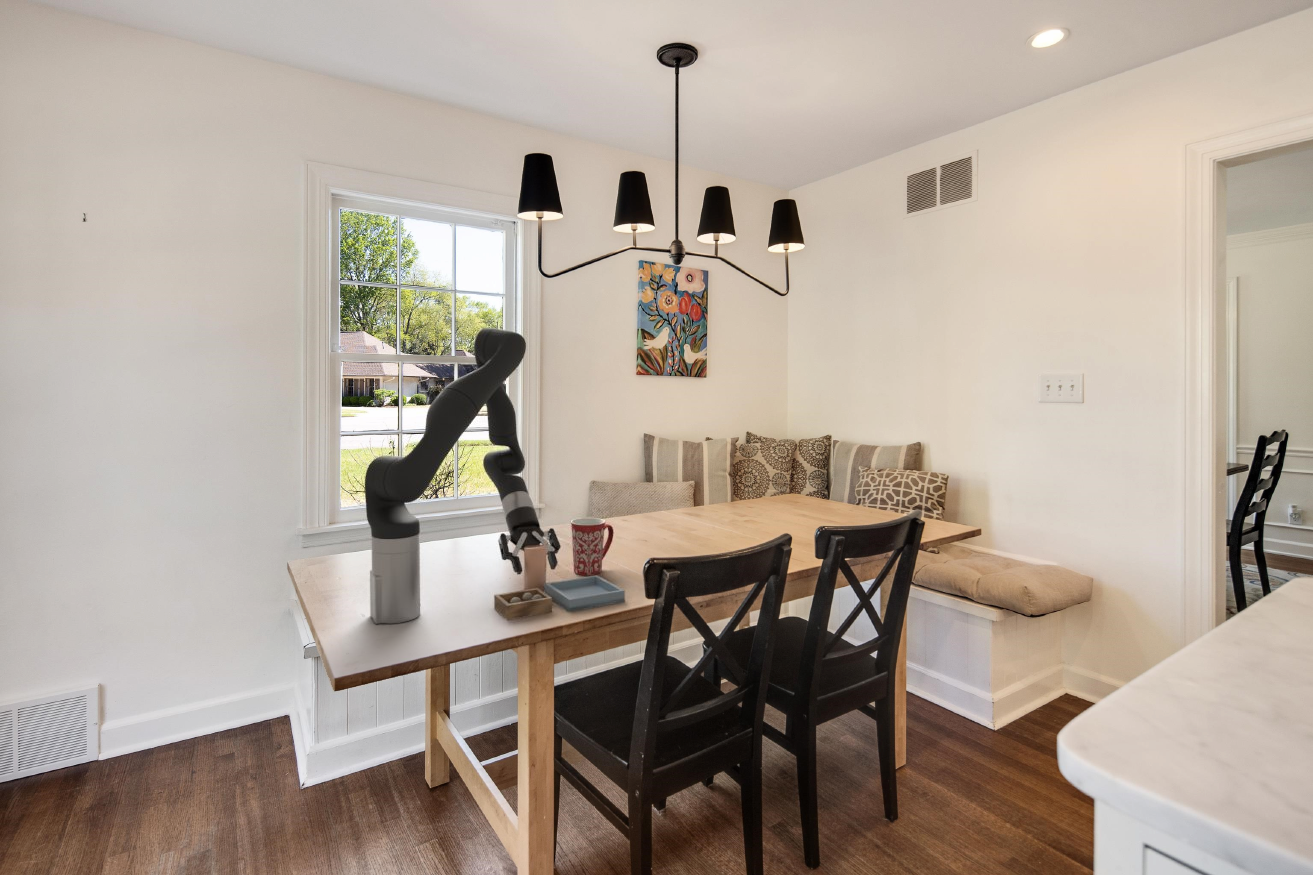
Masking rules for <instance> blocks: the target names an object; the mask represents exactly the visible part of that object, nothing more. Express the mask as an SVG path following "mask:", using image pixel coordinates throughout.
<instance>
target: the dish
mask: <svg viewBox="0 0 1313 875" xmlns="http://www.w3.org/2000/svg"><path fill="white" fill-rule="evenodd" d="M625 591H626V590H625V589H623V588H621V587H619V586H618V585H616V584H614V583H612V582H610V581H609V580H607V579H605V578H603V577H601V576H599V575H598V574H596V575H588V576H584V577H577V578H570V579H564V580H559V581H552V582H546V583H545V590H544V593H546V594H547V595H549V596H550V597H551V598H552V602H553V601H554V602H555V603H556V604H557V605H559V606H560V607H562V608H563V609H564V610H567V612H576V611H581V610H586V609H591V608H598V607H604V606H610V605H614V604H620V603H625V601H626V600H625V595H626V592H625Z"/></svg>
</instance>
